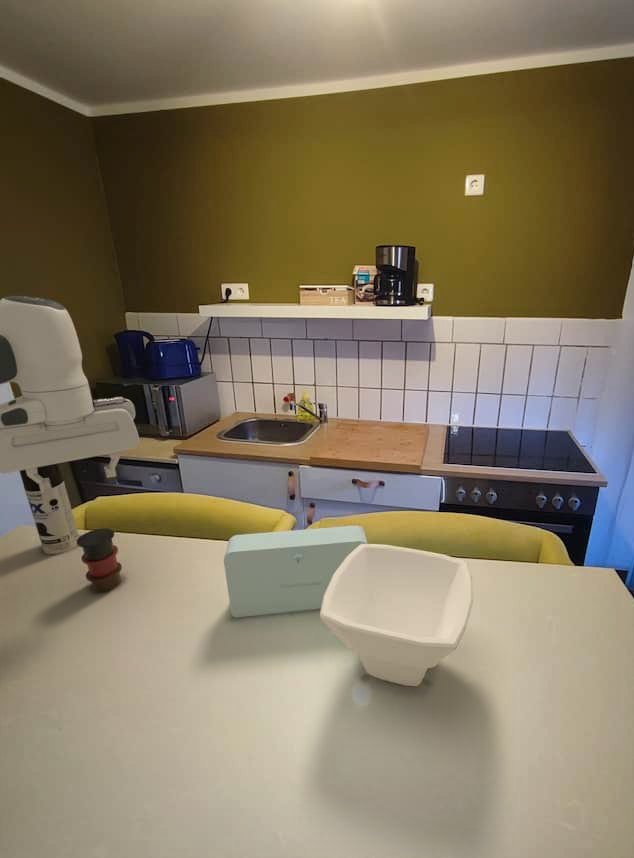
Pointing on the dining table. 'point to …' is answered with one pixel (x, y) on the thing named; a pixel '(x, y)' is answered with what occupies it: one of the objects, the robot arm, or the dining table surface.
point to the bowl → (399, 609)
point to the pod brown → (105, 580)
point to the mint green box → (285, 568)
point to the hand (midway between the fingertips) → (80, 483)
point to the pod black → (97, 544)
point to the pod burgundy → (102, 565)
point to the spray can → (51, 510)
